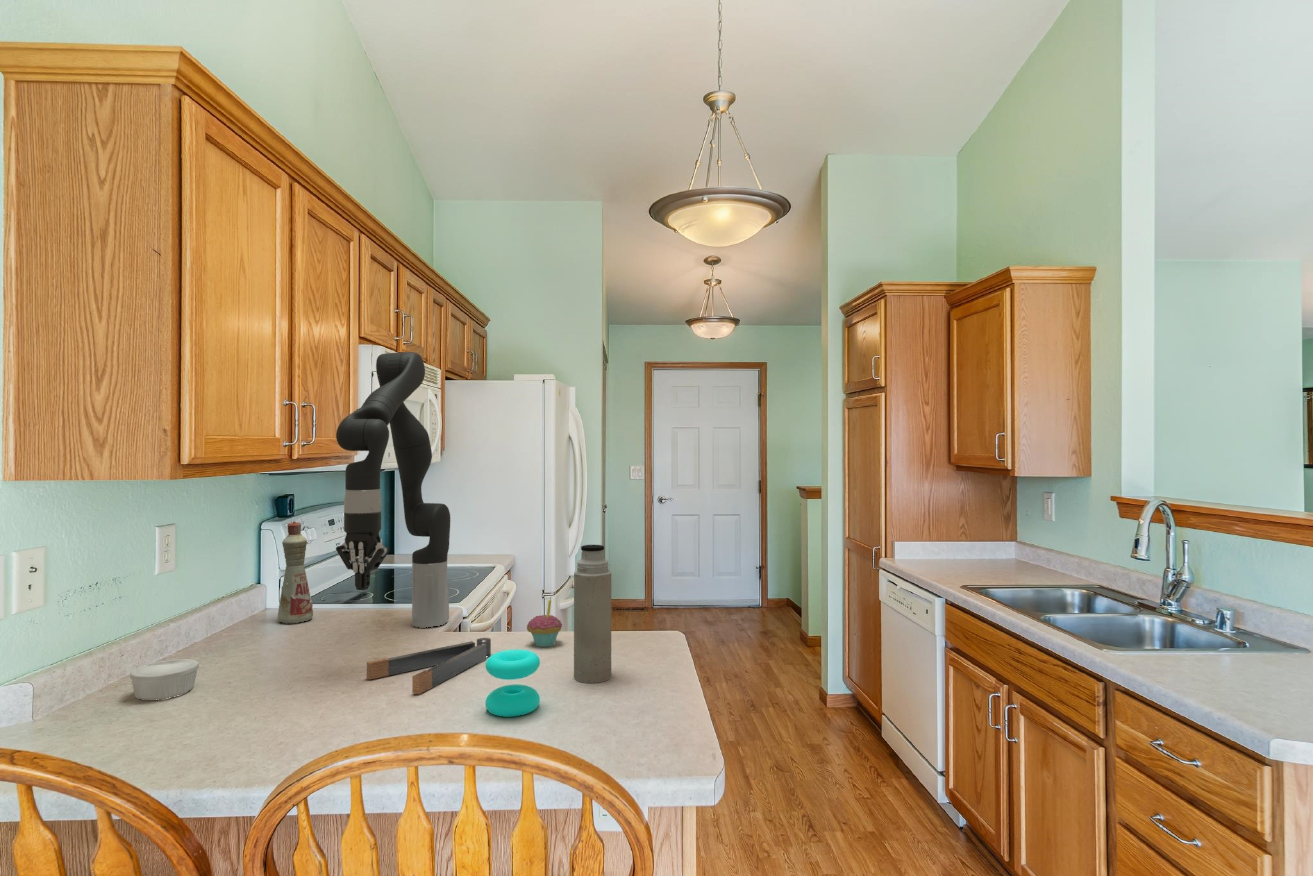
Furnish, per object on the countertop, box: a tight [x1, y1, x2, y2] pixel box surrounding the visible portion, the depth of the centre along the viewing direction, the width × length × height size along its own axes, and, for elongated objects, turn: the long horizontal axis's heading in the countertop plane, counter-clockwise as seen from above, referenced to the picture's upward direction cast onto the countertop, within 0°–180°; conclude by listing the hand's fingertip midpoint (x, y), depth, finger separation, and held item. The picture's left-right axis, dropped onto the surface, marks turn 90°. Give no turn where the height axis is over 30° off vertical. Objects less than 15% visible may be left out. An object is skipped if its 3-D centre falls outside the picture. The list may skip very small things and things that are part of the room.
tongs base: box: [411, 637, 492, 695], centre depth 150 cm, size 28×4×4 cm, turn 161°
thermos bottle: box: [573, 544, 612, 684], centre depth 147 cm, size 8×8×28 cm
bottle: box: [277, 520, 314, 624], centre depth 194 cm, size 9×9×28 cm
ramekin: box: [129, 658, 200, 701], centre depth 138 cm, size 11×11×5 cm
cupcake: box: [526, 596, 563, 648], centre depth 171 cm, size 9×8×12 cm
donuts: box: [485, 649, 541, 718], centre depth 130 cm, size 10×10×10 cm
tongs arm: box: [366, 640, 476, 681], centre depth 153 cm, size 24×2×3 cm, turn 131°
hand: (362, 589), depth 151 cm, fingers closed
